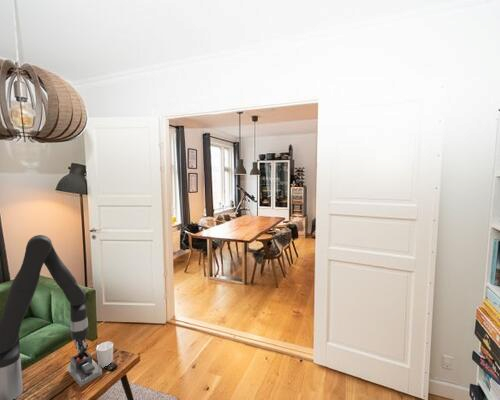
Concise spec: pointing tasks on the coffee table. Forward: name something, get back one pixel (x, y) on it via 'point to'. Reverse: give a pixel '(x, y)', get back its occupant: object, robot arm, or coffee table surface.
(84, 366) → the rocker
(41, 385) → the coffee table surface
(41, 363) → the coffee table surface
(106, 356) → the white cup
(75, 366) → the grey switch box
